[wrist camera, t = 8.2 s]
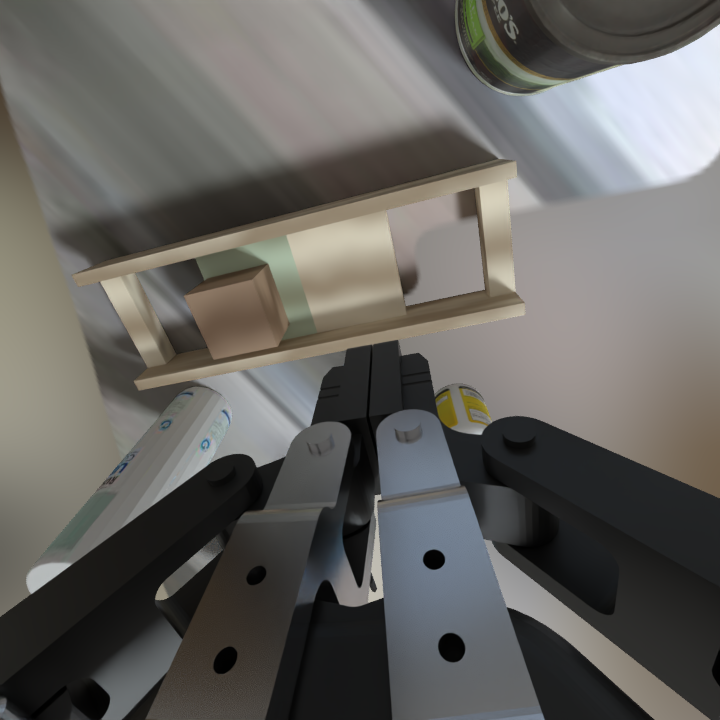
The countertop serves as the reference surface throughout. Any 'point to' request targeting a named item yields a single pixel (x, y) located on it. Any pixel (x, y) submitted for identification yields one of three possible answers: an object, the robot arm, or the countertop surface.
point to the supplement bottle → (462, 409)
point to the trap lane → (324, 276)
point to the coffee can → (571, 37)
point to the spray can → (142, 477)
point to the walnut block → (239, 312)
